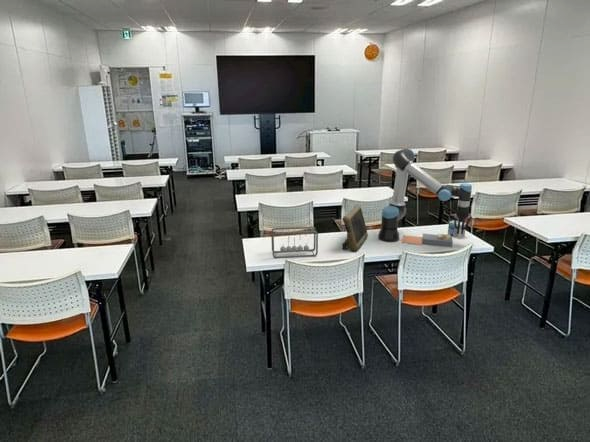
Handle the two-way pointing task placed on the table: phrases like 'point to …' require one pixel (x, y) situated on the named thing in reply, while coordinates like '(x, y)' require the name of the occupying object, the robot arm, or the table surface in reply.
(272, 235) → the newton's cradle
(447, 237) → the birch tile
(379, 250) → the table surface
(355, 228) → the tablet
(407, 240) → the mat
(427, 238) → the deck
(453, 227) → the light bulb box
